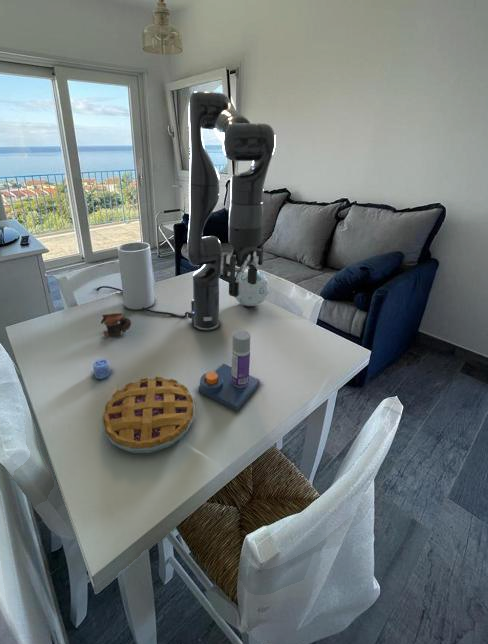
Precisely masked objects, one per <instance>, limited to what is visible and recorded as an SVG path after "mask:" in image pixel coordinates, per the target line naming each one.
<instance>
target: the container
mask: <svg viewBox="0 0 488 644" xmlns="http://www.w3.org/2000/svg"><path fill="white" fill-rule="evenodd" d="M250 360H251V333H250V332H249V331H247V330H243V329H240V330H235V331H234V332H233V333H232V345H231V367H232V377H231V382H232V384H233V385H234V386H236V387H239V388H242V387H245V386H247V385H248V383H249V375H250V365H251V364H250V363H251V361H250Z"/></svg>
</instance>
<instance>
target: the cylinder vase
mask: <svg viewBox="0 0 488 644" xmlns="http://www.w3.org/2000/svg"><path fill="white" fill-rule="evenodd" d="M151 252H152V251H151V245H150V244H149V243H148V242H143V241H132V242H125V243H122V244H120V245H118V246H117V255H118V265H119V273H120V282H121V290H123V293H122V296H123V297H122V298H123V305H124V307H125V308H126V309H129V310H133V311H134V310H135V311H136V310H137V311H138V310H143V309H142V308H146V309H149V307H151V306H153V305H154V304H155V291H154V290H155V289H154V279H153V267H152V266H153V265H152V253H151Z"/></svg>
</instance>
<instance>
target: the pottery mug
mask: <svg viewBox="0 0 488 644" xmlns="http://www.w3.org/2000/svg"><path fill="white" fill-rule="evenodd" d="M100 324H104V326H105V328H106V330H104V331H103V337H104V338H106V339H107V338H119V337H122V333H126V331H128V330H129V329H130V328H131V325H132V321H131V319H130V318H129V317H125V315H124V312H114V313H105V314H102V318H101V320H100Z"/></svg>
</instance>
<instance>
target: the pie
mask: <svg viewBox="0 0 488 644" xmlns="http://www.w3.org/2000/svg"><path fill="white" fill-rule="evenodd" d="M193 398H194V397H192V394H191V392H190V391H189V389H188V387H187V386H185V385H184V384H181V383H180V382H179V381H178V380H177V379H173V378H169V379H167V378H163V377H162V376H155V377H154V378H148V377H144V378H140V380H139V381H136V382H132V381H131V382H129V383H127V384H125V386H124V387H123V388H121V389H117V390H115V391H114V393H113V394H112V397H111V398H110V399H109V400H108V401H107V402H106V404H105V408H104V411H103V414H102V417H101V423H102V429H103V431H102V432H103V434H104V435H105V436H106V438H107V439H108V440H109V441H110V443H111V444H112V445H113V446H116V447H118V448H119V449H120V450H122V451H125V452H128V453H132V454H153V453H156V452H159V451H161V450H164V449H167V448H169V447H172V446H173V445H174V444H175V443H177V442H179V441H180V440H181V439H182V438H183V436H184V435H185V433H187V432H188V431H189V428H190V427H191V425H192V423H193V421H194V419H195V411H196V409H195V408H196V405H195V403H196V402H195V401H194V399H193Z"/></svg>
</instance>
